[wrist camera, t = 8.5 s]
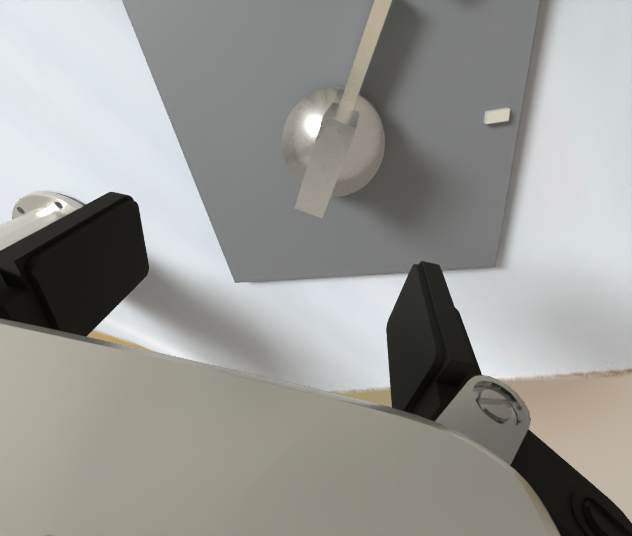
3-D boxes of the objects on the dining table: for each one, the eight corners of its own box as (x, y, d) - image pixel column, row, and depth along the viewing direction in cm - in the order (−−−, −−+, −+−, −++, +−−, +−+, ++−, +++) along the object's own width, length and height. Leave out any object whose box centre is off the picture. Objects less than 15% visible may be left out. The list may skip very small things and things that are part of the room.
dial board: (239, 275, 38) (227, 295, 35) (120, -35, 23) (79, -49, 19) (490, 258, 32) (503, 281, 29) (558, -180, 17) (603, -235, 13)
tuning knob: (360, 200, 28) (357, 245, 22) (277, 169, 28) (249, 205, 21) (445, 11, 20) (481, -9, 14) (329, -38, 20) (309, -84, 13)
